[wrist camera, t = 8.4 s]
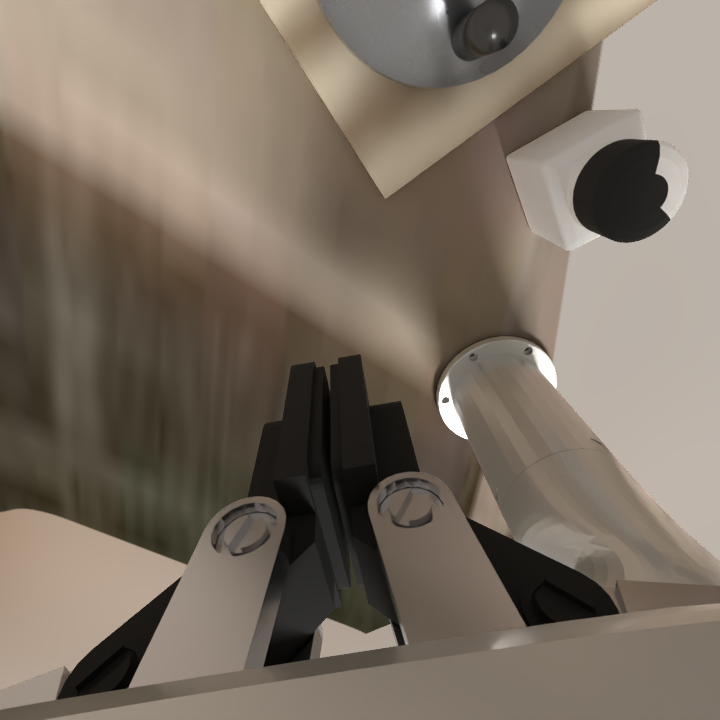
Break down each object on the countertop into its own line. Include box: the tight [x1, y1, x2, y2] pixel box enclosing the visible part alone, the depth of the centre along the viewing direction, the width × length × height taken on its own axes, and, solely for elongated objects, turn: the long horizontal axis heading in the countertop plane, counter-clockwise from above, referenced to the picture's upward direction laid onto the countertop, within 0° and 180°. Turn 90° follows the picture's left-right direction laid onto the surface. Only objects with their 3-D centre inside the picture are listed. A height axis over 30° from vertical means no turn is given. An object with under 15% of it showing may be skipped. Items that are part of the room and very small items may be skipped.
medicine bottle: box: [506, 109, 689, 251], centre depth 33 cm, size 7×7×12 cm
